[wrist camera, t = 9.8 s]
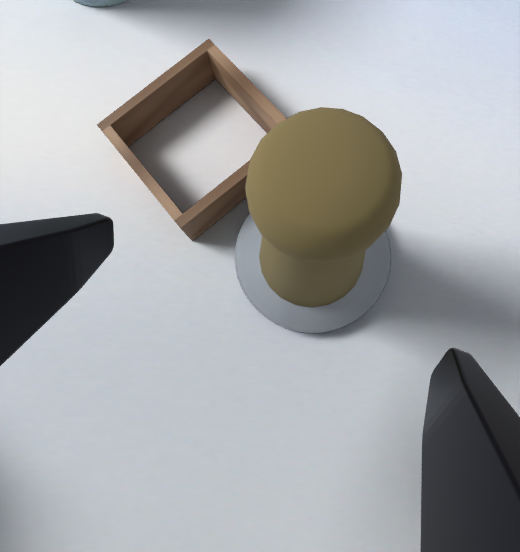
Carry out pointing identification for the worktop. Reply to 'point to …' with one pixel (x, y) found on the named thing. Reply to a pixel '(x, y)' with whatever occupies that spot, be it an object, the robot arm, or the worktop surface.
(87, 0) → the green cup
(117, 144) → the frame
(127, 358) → the worktop surface
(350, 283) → the cork
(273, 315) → the coaster
